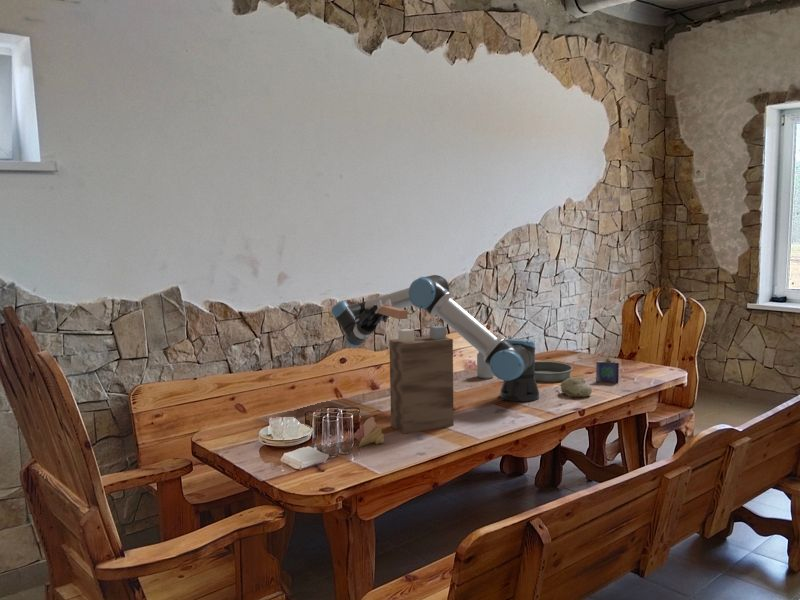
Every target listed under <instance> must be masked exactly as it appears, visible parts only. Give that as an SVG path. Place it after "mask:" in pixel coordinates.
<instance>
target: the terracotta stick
mask: <svg viewBox="0 0 800 600" xmlns="http://www.w3.org/2000/svg"><path fill="white" fill-rule="evenodd" d="M374 305H376V304H373V306H374ZM382 305H383V307H382V308H381V309H380V310H379V311H378V313H379V314H383V315H386V316H389V318H395V319H398V320H404V319H405V320H406V319H407V320H408V318H409V317H408V309H405V308H402V309H400V308H396V307H392V306H388V305H384V304H382Z"/></svg>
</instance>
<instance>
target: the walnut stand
mask: <svg viewBox="0 0 800 600" xmlns="http://www.w3.org/2000/svg"><path fill="white" fill-rule="evenodd" d="M414 338H415V342H410V343H402V342H399V341H398V338H396V339H389V345H388V346H389V383H390V385H389V386H390V389H389V390H390V391H389V393H390V426H391V427H392V428H394V429H396V430H397V431H399V432H400V433H402V434H404V435H406V434H411V433H417V432H423V431H428V430H434V429H440V428H441V429H442V428H445V427H452V426H454V421H455V420H454V344H453V343H454V339H453V338H451V337H450V338H449V337H448V336H446V339H439V340H435V339H431V338H430V335H426V336H414Z"/></svg>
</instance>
